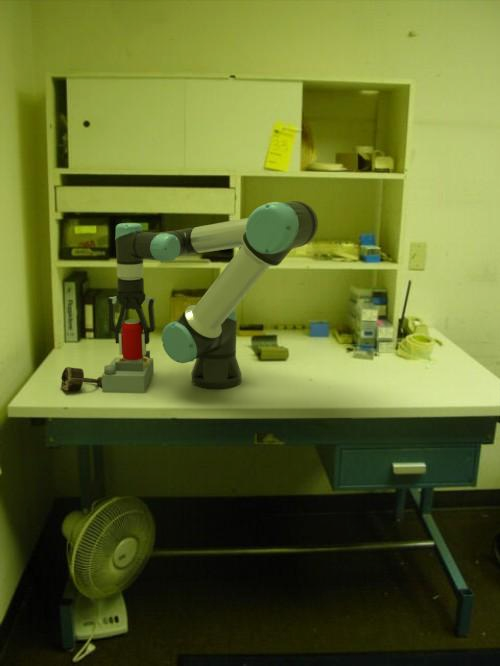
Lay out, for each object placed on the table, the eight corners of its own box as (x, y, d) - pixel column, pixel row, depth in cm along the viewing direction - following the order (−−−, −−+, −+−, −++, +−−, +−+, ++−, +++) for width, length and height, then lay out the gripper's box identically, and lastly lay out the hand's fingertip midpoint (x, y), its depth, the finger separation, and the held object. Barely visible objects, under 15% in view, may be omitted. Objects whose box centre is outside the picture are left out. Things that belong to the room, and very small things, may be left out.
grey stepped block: (153, 373, 192) (153, 350, 190) (144, 392, 176) (143, 367, 174) (115, 372, 192) (114, 349, 190) (102, 391, 176) (101, 367, 174)
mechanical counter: (60, 366, 181) (54, 369, 171) (104, 360, 183) (101, 363, 173) (63, 390, 182) (58, 395, 172) (107, 384, 184) (104, 388, 174)
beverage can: (139, 355, 189) (137, 317, 185) (146, 361, 183) (145, 322, 180) (119, 358, 185) (118, 319, 182) (127, 364, 180) (125, 324, 177)
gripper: (165, 275, 181) (166, 350, 187) (100, 274, 182) (104, 349, 188) (161, 280, 174) (163, 358, 180) (94, 279, 174) (98, 357, 180)
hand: (133, 353), depth 184 cm, fingers closed on beverage can, 6 cm apart
